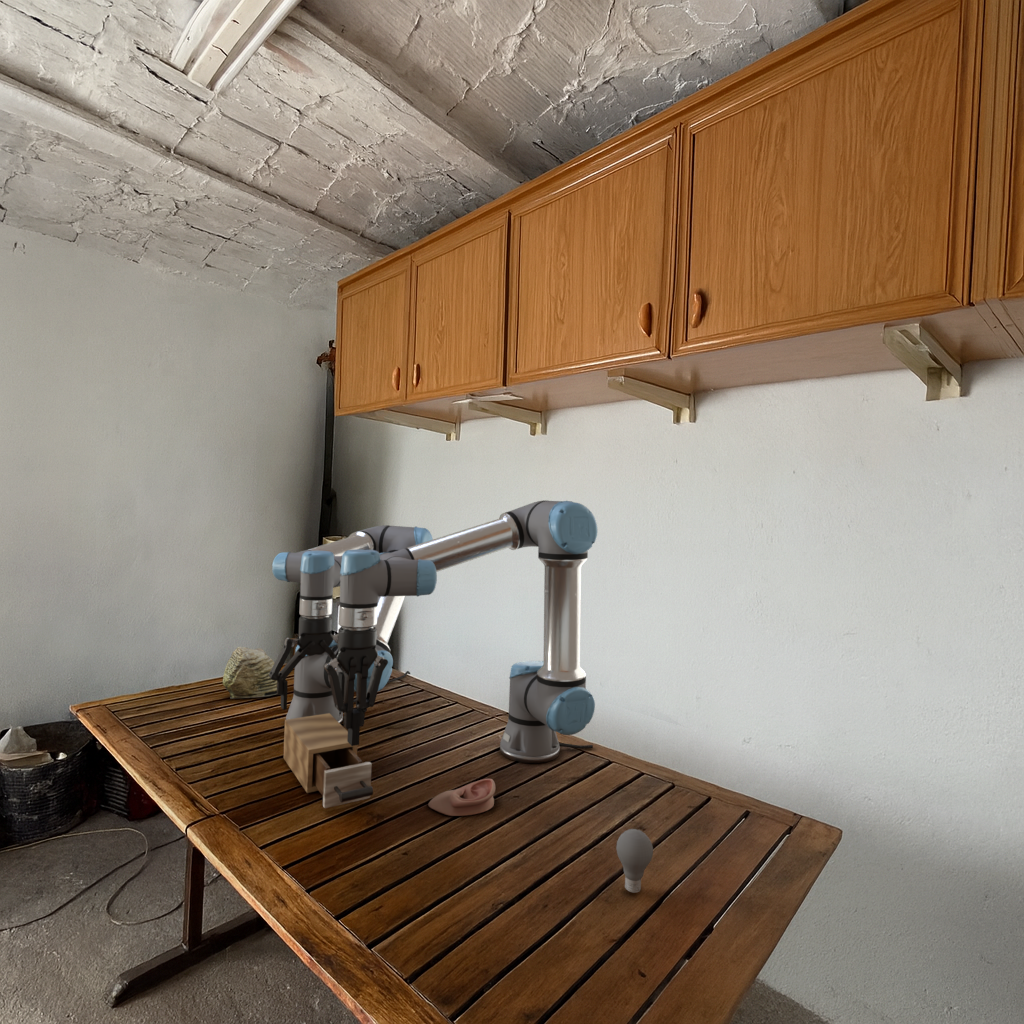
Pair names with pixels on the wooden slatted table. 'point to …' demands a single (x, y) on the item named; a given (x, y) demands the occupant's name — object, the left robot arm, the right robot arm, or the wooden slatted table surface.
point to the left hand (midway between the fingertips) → (312, 703)
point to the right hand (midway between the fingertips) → (353, 742)
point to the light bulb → (634, 857)
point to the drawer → (341, 777)
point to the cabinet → (311, 744)
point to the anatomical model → (466, 799)
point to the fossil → (249, 674)
